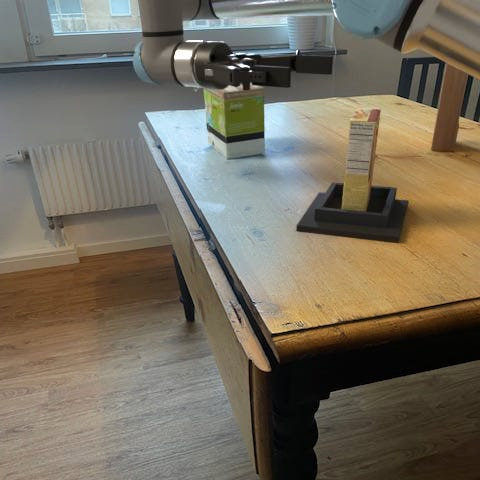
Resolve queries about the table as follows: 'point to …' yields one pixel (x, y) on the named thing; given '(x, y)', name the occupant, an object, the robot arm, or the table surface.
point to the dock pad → (356, 215)
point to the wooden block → (449, 109)
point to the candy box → (360, 159)
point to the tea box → (235, 120)
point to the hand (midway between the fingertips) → (311, 71)
